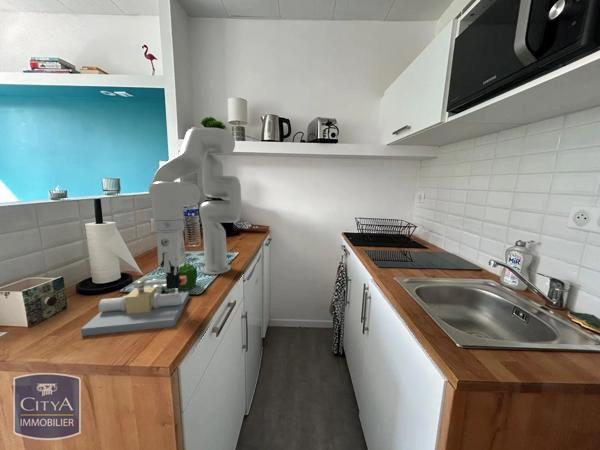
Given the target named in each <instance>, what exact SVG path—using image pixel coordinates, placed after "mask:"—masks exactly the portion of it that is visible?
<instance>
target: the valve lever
mask: <svg viewBox="0 0 600 450" xmlns="http://www.w3.org/2000/svg"><path fill="white" fill-rule="evenodd" d="M157 279H158V280H153V279H145V278H141V279H137V280H134V281H133V289H138V292H143V291H144V288H146V287H147V286H148V287H149V286H150V285H161V284H166V278H157ZM186 282H187V276H180V285H182V284H186Z"/></svg>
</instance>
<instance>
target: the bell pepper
mask: <svg viewBox="0 0 600 450" xmlns="http://www.w3.org/2000/svg"><path fill="white" fill-rule="evenodd" d="M179 275H180V276H187V282H186V284H182V285H180V286H179V287H178V288H176V289H177V290H180V291H183V290H191V289H194V288H195V286H196V284H197V280H198V279H197V278H198V270H197V268H196V267H194V265H193V264H191V263H189V262H186V263H185V262H184V264H183V265H180V266H179Z"/></svg>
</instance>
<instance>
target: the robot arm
mask: <svg viewBox="0 0 600 450" xmlns="http://www.w3.org/2000/svg"><path fill="white" fill-rule="evenodd" d="M235 148H236V141H235V137H234V135H233V134H232V133H231V132H230V131H229V130H225V129H222V128H219V127H192V128H190V129H188V130H187V131H186V133H185V135H184V138H183V141H182V144H181V147H180V149H179V152H178V154H177V155H176V156H174V157H173V158H171V159H169V160H168V161H166V162H165V163H164V164H162V165H161V166H159V168H158V169H156V171H155V173H154V175H153V177H152V179H151V183H150V186H149V189H148V197H149V199H150V201H151V203H152V214H153V226H154V232H155V233H157V240H156V241H157V242H156V243H157V245H156V246H157V261H158V266H159V268H161V269H162V268H163V274H165V279H166V284H167V289H172V290H173V289H177V288H178V287H179V286H180V275H179V267H180V266H181V264H183V262H184V261H185V260H186V256H187V255H186V247H185V238H184V232H183V231H185V218H184V217H185V216H184V207H192V206H193V207H194V206H195V205H197V204H198V203H199V202H200V201H201V195H202V193H201V190H200V187H199V186H198V185H197V184H195V183H193V182H192V181H191V182H189V181H177V180H178V179H180V178H183V177H187V176H189V175H192V174H195V173H198V172H199V171H202V191H203V194H204V196H205V197H208V198H214V199H215V198H216V199H220V198H221V199H222V198H223V199H229V200H207V201H203V202H202V203H201V204H200V206H199V209H198V210H199V217H200V220H201V226H202V233H203V250H204V251H203V253H204V256H203V257H204V266H203V267H202V268H201V273H203V274H205V275H210V276H211V275H212V276H213V275H215V274H216V275H221V274H226V273H227V272H230V271H231V269H232V268H231V267H232V266H231V265H230V264H228V258H227V256H228V252H227V233H226V228H224V226H223V225H222V224H223V223H237V222H239V221H240V220H241V218H242V190H241V189H242V188H241V187H242V186H241V182H240V179H239V178H238V177H236V176H235V175H224V165H223V162H222V160H221V159H220V157H218V156H217V155H216V154H231V153H233V152H234V150H235Z"/></svg>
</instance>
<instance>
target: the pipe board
mask: <svg viewBox="0 0 600 450" xmlns="http://www.w3.org/2000/svg"><path fill="white" fill-rule="evenodd" d="M189 293H190V292H189V291H185V292H183V291H182V292H173V293H162V292H161V293H156V287H153V288H151V287H144V291H143V292H138V289H137V288H133V289H132V290H131V291H130V292H129V293H128V294H127V295H123V296H121V297H120V296H119V297H115V298H114V297H112V298H102V299H100V300H99V303H98V311H99V313H98V314H96V315H95V316H94V317H93V318H91V320H89V322H87V323H85V325H83V327H81V328H80V331H81V332H80V333H81V336H82V337H84V336H85V337H86V336H87V337H88V336H96V335H104V334H113V333H114V334H115V333H124V332H125V333H126V332H133V331H134V332H135V331H142V330H143V331H144V330H151V329H163V328H171V327H172V328H173V327H175V326H176V324H177V322H178V321H179V318H180V316H181V314H182V312H183V310H184V309H185V306H186V304H187V303H188V301H189V299H190V294H189Z"/></svg>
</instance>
